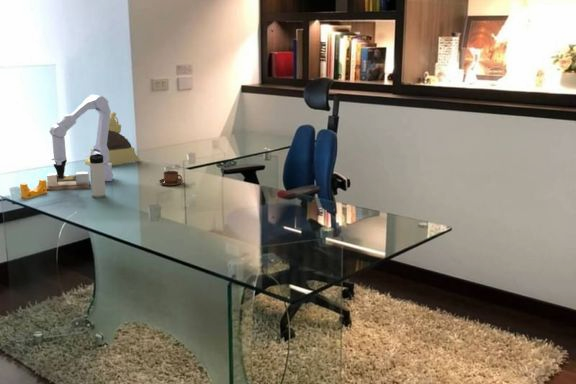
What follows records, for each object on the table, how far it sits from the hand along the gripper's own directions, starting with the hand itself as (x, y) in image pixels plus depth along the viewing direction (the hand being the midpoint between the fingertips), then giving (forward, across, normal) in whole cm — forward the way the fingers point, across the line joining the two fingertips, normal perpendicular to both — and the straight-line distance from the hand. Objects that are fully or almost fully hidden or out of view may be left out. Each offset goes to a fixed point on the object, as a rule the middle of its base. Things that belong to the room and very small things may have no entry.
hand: (61, 176), depth 322 cm
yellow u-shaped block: (+6, +14, -11) cm, 19 cm away
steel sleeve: (+5, 0, +10) cm, 11 cm away
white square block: (+5, 0, -4) cm, 7 cm away
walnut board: (+5, 0, +2) cm, 6 cm away
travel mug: (+6, +22, +18) cm, 29 cm away
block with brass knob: (+3, 0, +2) cm, 3 cm away
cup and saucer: (+6, +5, +54) cm, 54 cm away
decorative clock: (+6, -51, +25) cm, 57 cm away
